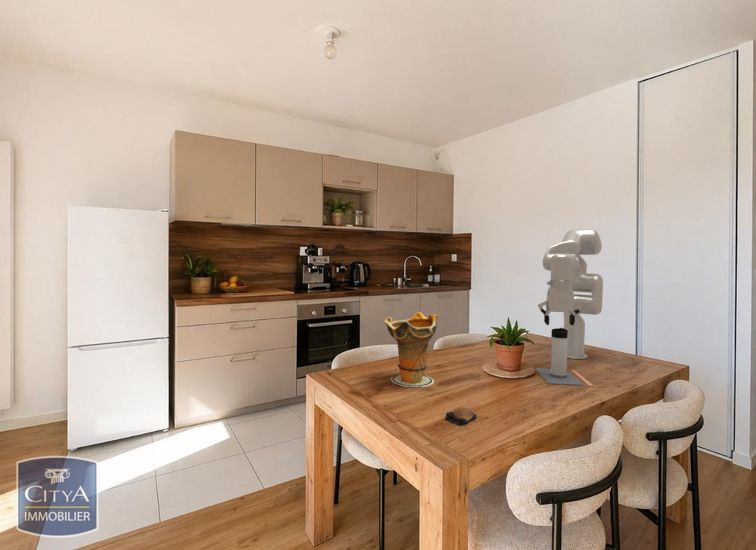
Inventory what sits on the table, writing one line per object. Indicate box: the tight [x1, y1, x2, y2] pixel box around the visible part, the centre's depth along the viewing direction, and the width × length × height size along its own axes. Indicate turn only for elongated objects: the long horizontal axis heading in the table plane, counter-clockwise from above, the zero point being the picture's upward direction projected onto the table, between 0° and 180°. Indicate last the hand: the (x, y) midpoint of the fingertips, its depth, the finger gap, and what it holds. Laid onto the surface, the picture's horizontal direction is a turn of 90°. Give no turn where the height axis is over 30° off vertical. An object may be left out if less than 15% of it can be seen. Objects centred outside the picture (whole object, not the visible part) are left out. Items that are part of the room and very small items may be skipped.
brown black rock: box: [443, 406, 479, 427], centre depth 122 cm, size 11×8×4 cm
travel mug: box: [549, 327, 568, 378], centre depth 162 cm, size 6×7×20 cm
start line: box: [570, 369, 594, 387], centre depth 161 cm, size 20×2×1 cm, turn 172°
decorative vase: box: [383, 311, 439, 388], centre depth 157 cm, size 21×23×28 cm
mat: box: [534, 367, 584, 387], centre depth 162 cm, size 20×13×1 cm, turn 172°
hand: (559, 324), depth 161 cm, fingers open, 9 cm apart
